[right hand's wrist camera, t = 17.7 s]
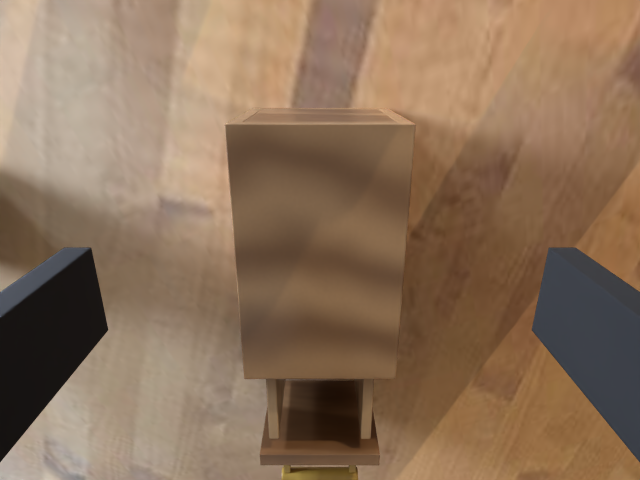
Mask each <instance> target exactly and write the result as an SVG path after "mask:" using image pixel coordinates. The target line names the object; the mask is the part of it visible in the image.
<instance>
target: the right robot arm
mask: <svg viewBox="0 0 640 480" xmlns="http://www.w3.org/2000/svg"><path fill="white" fill-rule="evenodd" d="M107 331H108V326H107V322H106V317H105V312H104V307H103V302H102V298H101V293H100V288H99V283H98V278H97V274H96V269H95V264H94V259H93V254H92V250H91V248H63V249H62V250H60V251H59V252H57V253H56V254H55V255H53V256H52V257H50V258H49V259H47V260H46V261H44V262H43V263H42V264H40V265H39V266H37V267H36V268H34V269H33V270H31V271H30V272H29V273H27V274H26V275H24V276H23V277H21V278H20V279H18V280H17V281H16V282H14V283H13V284H11V285H10V286H8V287H7V288H5V289H4V290H3V291H1V292H0V462H1V461H2V459H3V458H4V457H5V456H6V455H7V453H8V452H9V451H10V450H11V448H12V447H13V446H14V445H15V444H16V442H17V441H18V440H19V439H20V437H21V436H22V435H23V434H24V433H25V431H26V430H27V429H28V428H29V426H30V425H31V424H32V423H33V421H34V420H35V419H36V418H37V417H38V415H39V414H40V413H41V412H42V410H43V409H44V408H45V407H46V406H47V404H48V403H49V402H50V401H51V399H52V398H53V397H54V396H55V395H56V393H57V392H58V391H59V390H60V388H61V387H62V386H63V385H64V384H65V382H66V381H67V380H68V379H69V377H70V376H71V375H72V374H73V373H74V371H75V370H76V369H77V368H78V366H79V365H80V364H81V363H82V361H83V360H84V359H85V358H86V357H87V355H88V354H89V353H90V352H91V350H92V349H93V348H94V347H95V346H96V344H97V343H98V342H99V341H100V339H101V338H102V337H103V336H104V335H105V333H106V332H107ZM532 331H533V332H534V333H535V335H536V336H537V337H538V338H539V339H540V341H541V342H542V343H543V344H544V346H545V347H546V348H547V349H548V350H549V352H550V353H551V354H552V355H553V357H554V358H555V359H556V360H557V361H558V363H559V364H560V365H561V366H562V368H563V369H564V370H565V371H566V373H567V374H568V375H569V376H570V377H571V379H572V380H573V381H574V382H575V384H576V385H577V386H578V387H579V388H580V390H581V391H582V392H583V393H584V395H585V396H586V397H587V398H588V399H589V401H590V402H591V403H592V404H593V406H594V407H595V408H596V409H597V410H598V412H599V413H600V414H601V415H602V417H603V418H604V419H605V420H606V421H607V423H608V424H609V425H610V426H611V428H612V429H613V430H614V431H615V433H616V434H617V435H618V436H619V437H620V439H621V440H622V441H623V442H624V444H625V445H626V446H627V447H628V448H629V450H630V451H631V452H632V453H633V455H634V456H635V457H636V458H637V459H638V461H639V462H640V292H639V291H637V290H636V289H635V288H633V287H632V286H630V285H629V284H627V283H626V282H624V281H623V280H622V279H620V278H619V277H617V276H616V275H614V274H613V273H611V272H610V271H609V270H607V269H606V268H604V267H603V266H601V265H600V264H598V263H597V262H596V261H594V260H593V259H591V258H590V257H588V256H587V255H585V254H584V253H583V252H581V251H580V250H578V249H577V248H549V250H548V254H547V259H546V264H545V269H544V274H543V278H542V283H541V288H540V293H539V298H538V302H537V307H536V312H535V317H534V322H533V326H532Z"/></svg>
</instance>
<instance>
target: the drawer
mask: <svg viewBox="0 0 640 480" xmlns="http://www.w3.org/2000/svg"><path fill="white" fill-rule="evenodd" d="M373 384H374V379H354V381H341V380H285V379H266V387H267V405H268V406H267V412H266V419H265V425H264V431H263V438H262V444H261V451H260V464H261V465H284V467H283V468H282V480H358V470H357V467H356V465H379V459H380V453H379V446H378V440H377V433H376V427H375V421H374V414H373V408H372V402H373ZM291 465H349V467H291Z"/></svg>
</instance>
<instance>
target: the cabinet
mask: <svg viewBox="0 0 640 480" xmlns="http://www.w3.org/2000/svg"><path fill="white" fill-rule="evenodd" d="M415 127H416V124H414V123H412V122H410V121H409V120H407V119H405V118H403V117H402V116H400V115H398V114H396V113H395V112H393V111H391V110H389V109H388V108H252V109H250V110H249V111H247V112H245V113H243V114H241V115H240V116H238V117H236V118H234V119H233V120H231V121H229V122H228V123H226V124H225V136H226V149H227V162H228V175H229V187H230V200H231V213H232V226H233V239H234V252H235V265H236V278H237V291H238V304H239V317H240V329H241V342H242V355H243V368H244V378H245V379H395V378H396V366H397V354H398V341H399V329H400V316H401V303H402V291H403V278H404V266H405V253H406V240H407V228H408V215H409V203H410V190H411V177H412V165H413V152H414V140H415Z"/></svg>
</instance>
